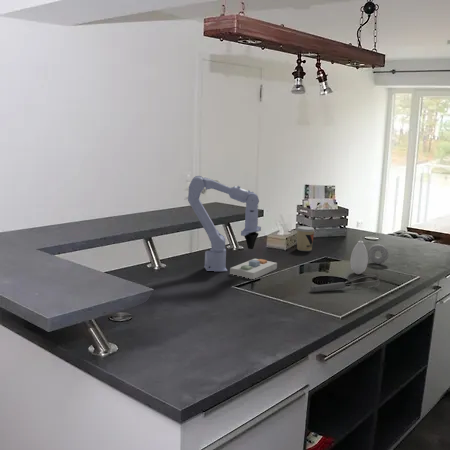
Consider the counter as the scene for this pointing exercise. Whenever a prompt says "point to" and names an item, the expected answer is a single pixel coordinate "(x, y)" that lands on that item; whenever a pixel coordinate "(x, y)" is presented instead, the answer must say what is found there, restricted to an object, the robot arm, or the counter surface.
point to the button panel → (253, 269)
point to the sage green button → (246, 267)
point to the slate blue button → (254, 263)
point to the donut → (383, 251)
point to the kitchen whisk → (335, 286)
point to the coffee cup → (305, 238)
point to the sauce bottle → (359, 258)
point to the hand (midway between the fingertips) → (250, 248)
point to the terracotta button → (262, 261)
